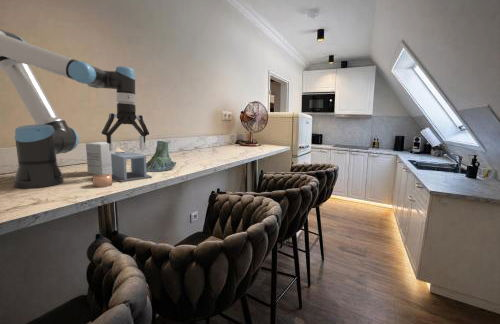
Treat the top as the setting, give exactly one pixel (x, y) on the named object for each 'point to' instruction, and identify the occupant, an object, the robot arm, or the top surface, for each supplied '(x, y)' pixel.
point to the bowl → (102, 180)
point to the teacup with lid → (119, 151)
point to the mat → (130, 177)
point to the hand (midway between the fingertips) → (127, 150)
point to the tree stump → (160, 159)
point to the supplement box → (99, 158)
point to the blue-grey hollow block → (136, 164)
